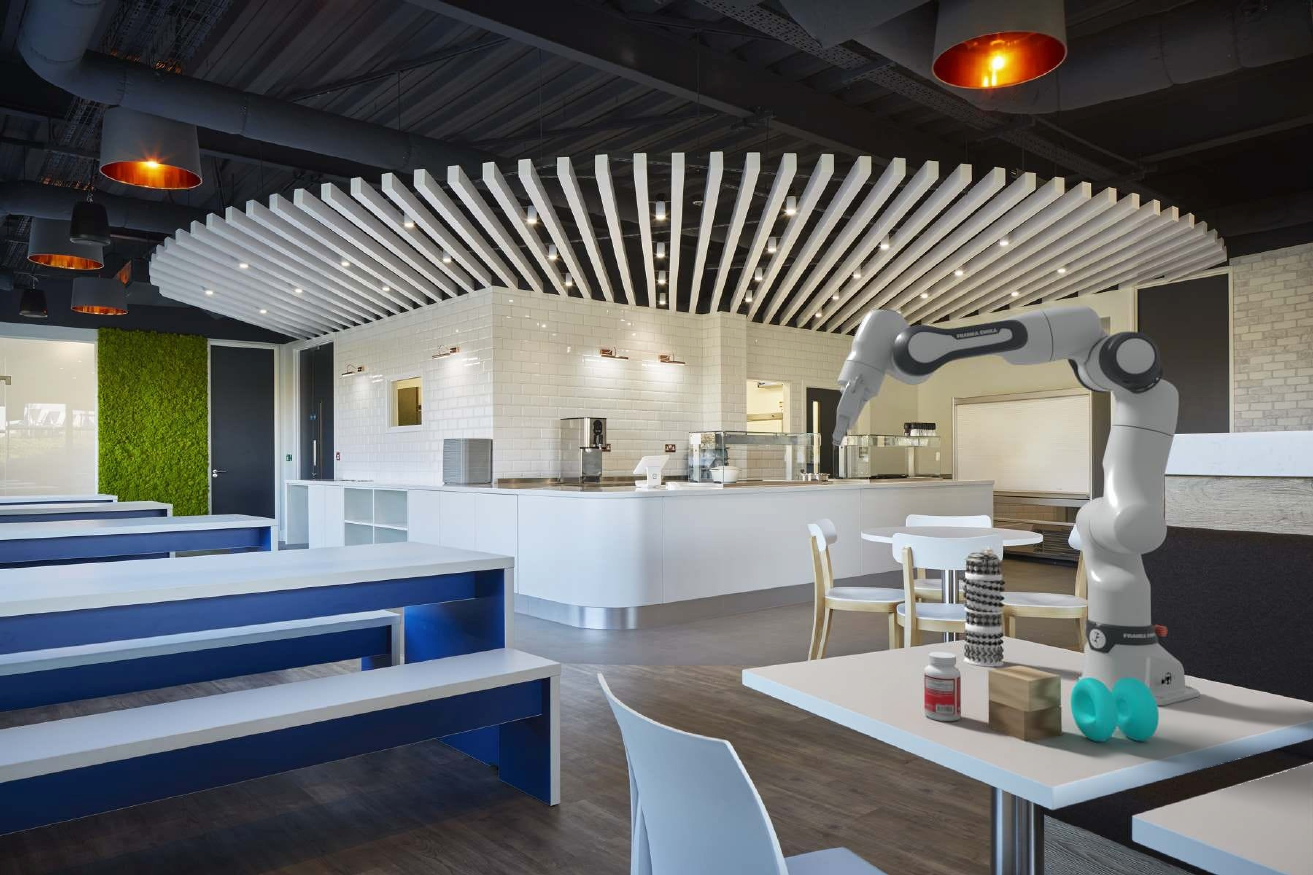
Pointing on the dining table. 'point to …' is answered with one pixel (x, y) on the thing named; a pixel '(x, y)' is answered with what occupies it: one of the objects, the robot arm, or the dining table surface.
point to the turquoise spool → (1114, 709)
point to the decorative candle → (983, 610)
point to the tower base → (1025, 721)
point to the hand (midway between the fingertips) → (835, 442)
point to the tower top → (1024, 688)
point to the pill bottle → (942, 687)
